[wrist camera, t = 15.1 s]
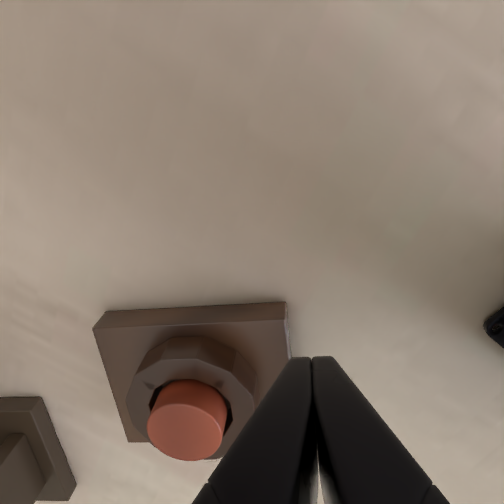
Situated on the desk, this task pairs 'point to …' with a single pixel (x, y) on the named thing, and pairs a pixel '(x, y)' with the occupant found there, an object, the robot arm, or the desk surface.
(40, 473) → the lock bracket
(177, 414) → the release button
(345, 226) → the desk surface
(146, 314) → the button plate
